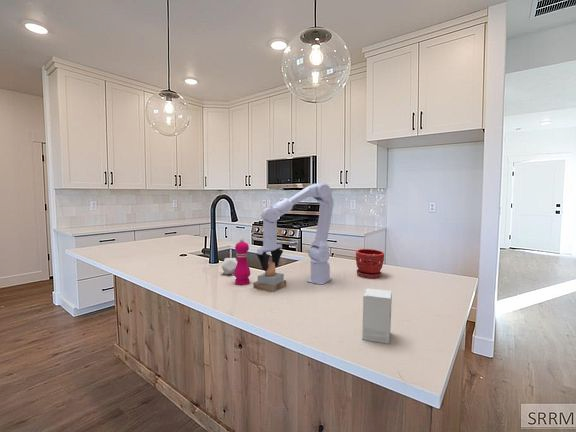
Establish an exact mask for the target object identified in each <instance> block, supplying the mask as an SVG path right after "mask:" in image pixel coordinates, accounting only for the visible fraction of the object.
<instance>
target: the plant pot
mask: <svg viewBox="0 0 576 432" xmlns="http://www.w3.org/2000/svg"><path fill="white" fill-rule="evenodd" d="M355 262H356V263H355V264H356V267H357V269H356V274H357V275H358V276H359V277H363V278H366V279H367V278H369V279H375V278H379V277H380V276H382V271H381V270H382V268H383V265H384V262H385V252H384V251H382V250H378V249H371V248H360V249H357V250H356V252H355Z"/></svg>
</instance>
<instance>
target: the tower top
mask: <svg viewBox="0 0 576 432" xmlns="http://www.w3.org/2000/svg"><path fill="white" fill-rule="evenodd" d="M284 279H285V275H284V273H280V272H276V275H274V276H266V275H265V272H263V273H261V274H259V275H257V281H258V283H261V284H266V285H272V286H274V285H276V284H278V283H280V282H282V281H284Z"/></svg>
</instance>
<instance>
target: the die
mask: <svg viewBox="0 0 576 432" xmlns="http://www.w3.org/2000/svg"><path fill="white" fill-rule="evenodd" d="M237 260H238V259H237V257H225V258H224V260H223V261H222V262H223V263H222V265H221V268H222V271H223V273H224V275H225V276H233V275H232V274H234V271H235V268H236V265H237Z"/></svg>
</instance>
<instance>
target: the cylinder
mask: <svg viewBox="0 0 576 432" xmlns="http://www.w3.org/2000/svg"><path fill="white" fill-rule="evenodd" d="M264 273H265V275H266V276H274V275H276V273H277V272H276V267H275V262H272V261H268V269H267V271H265V270H264Z"/></svg>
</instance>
